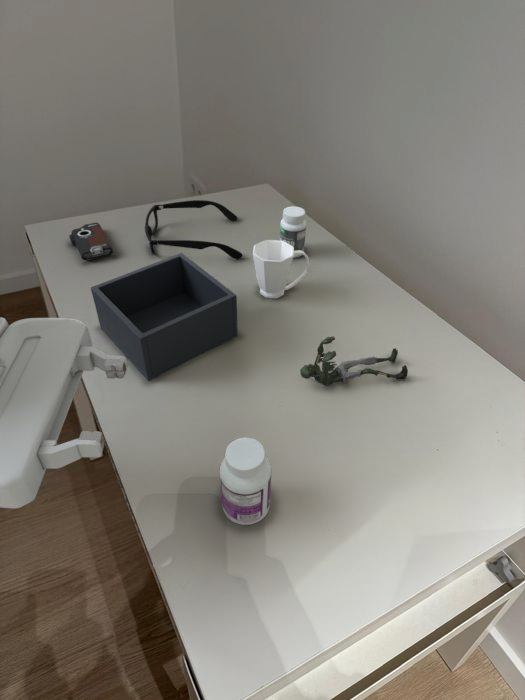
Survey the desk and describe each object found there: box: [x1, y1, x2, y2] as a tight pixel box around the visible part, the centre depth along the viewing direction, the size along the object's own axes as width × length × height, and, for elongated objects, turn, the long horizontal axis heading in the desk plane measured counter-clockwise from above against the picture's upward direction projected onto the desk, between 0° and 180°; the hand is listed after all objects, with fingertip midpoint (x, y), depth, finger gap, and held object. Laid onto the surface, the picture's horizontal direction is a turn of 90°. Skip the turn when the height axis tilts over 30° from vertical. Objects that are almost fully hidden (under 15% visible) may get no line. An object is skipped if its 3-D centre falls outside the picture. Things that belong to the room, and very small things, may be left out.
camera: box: [68, 222, 114, 261], centre depth 97 cm, size 6×3×11 cm
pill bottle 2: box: [279, 205, 307, 259], centre depth 95 cm, size 5×5×8 cm
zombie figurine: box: [299, 335, 409, 386], centre depth 71 cm, size 5×7×15 cm
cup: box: [252, 239, 311, 300], centre depth 86 cm, size 7×10×8 cm
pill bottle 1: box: [219, 437, 272, 526], centre depth 54 cm, size 5×5×10 cm
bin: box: [90, 252, 238, 382], centre depth 77 cm, size 16×15×8 cm
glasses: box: [144, 199, 244, 260], centre depth 99 cm, size 17×18×5 cm
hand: (114, 402), depth 47 cm, fingers open, 8 cm apart
